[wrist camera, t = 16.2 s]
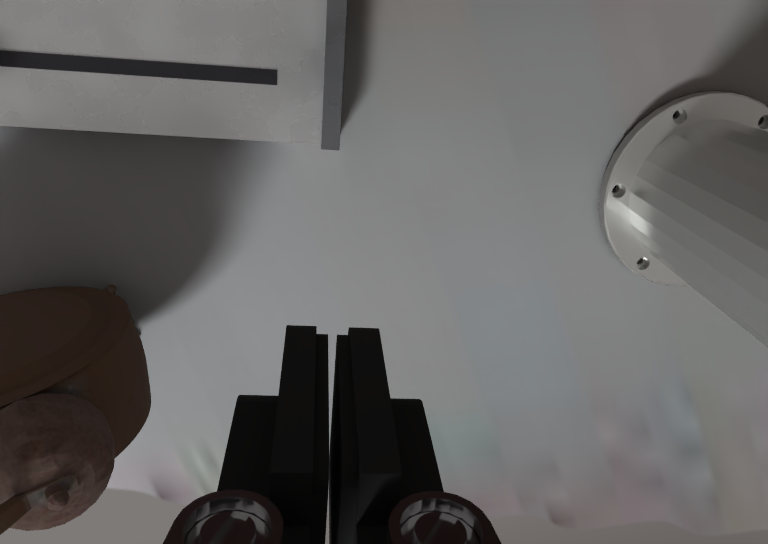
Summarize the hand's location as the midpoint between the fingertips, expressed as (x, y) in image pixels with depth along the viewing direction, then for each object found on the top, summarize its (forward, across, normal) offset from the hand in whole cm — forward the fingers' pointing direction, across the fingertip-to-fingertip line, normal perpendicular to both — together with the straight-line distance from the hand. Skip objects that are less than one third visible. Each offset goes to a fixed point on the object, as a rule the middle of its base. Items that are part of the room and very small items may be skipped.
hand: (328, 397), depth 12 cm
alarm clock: (+29, +16, +14) cm, 36 cm away
